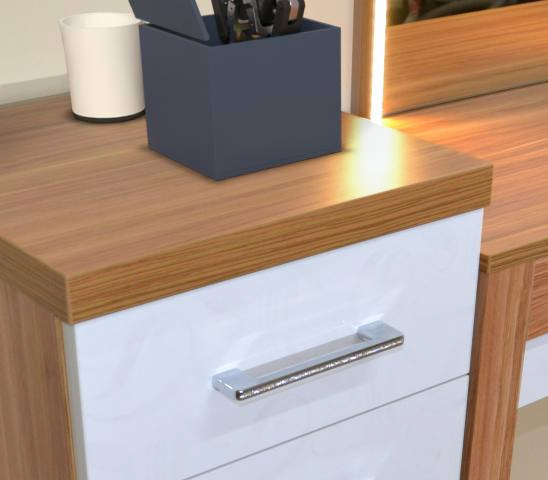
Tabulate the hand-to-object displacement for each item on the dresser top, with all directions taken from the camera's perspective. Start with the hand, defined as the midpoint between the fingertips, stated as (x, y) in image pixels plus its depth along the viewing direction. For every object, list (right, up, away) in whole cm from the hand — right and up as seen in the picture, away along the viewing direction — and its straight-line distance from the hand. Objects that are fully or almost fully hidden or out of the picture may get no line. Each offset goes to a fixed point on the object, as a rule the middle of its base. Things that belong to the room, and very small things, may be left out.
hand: (258, 91), depth 116 cm
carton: (-2, -6, +1) cm, 6 cm away
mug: (-17, 0, +14) cm, 22 cm away
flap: (-8, +7, -11) cm, 15 cm away
